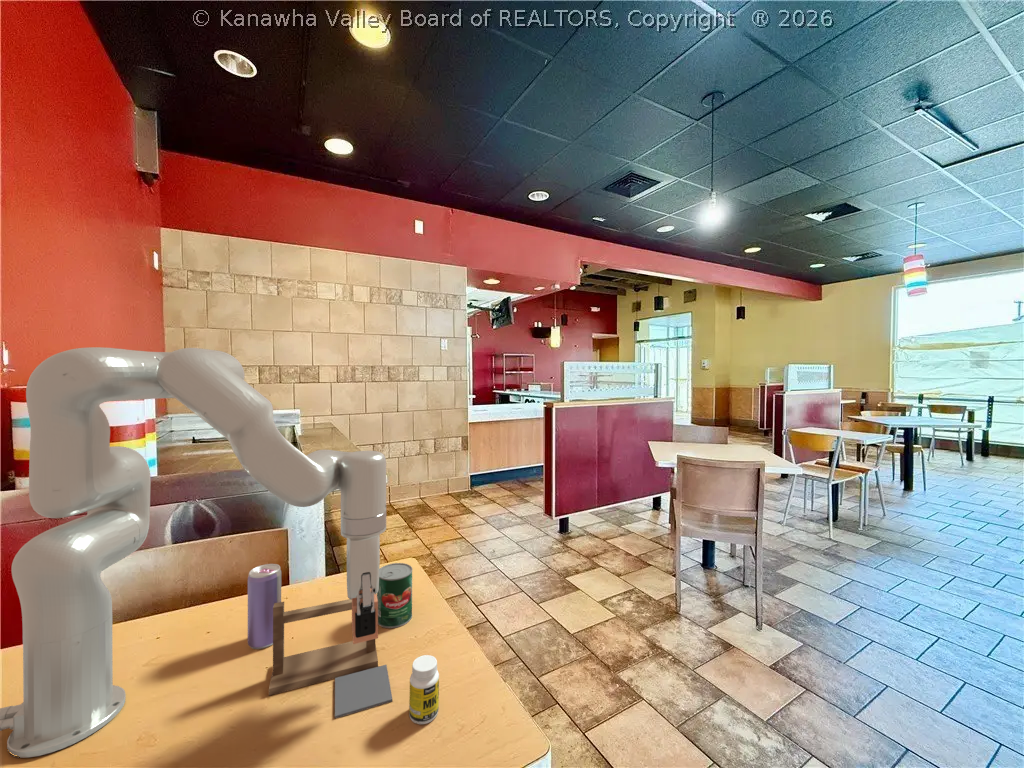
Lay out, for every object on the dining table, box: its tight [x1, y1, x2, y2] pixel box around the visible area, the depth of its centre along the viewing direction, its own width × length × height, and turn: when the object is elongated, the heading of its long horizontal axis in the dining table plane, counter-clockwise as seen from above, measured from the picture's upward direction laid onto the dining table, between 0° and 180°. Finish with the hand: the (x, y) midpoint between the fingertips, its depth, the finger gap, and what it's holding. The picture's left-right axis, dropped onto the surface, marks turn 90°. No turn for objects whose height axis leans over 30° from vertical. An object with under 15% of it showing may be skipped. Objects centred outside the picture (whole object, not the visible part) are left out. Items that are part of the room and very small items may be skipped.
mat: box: [334, 664, 393, 719], centre depth 71 cm, size 9×9×1 cm
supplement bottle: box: [408, 654, 440, 725], centre depth 66 cm, size 5×5×8 cm
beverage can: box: [247, 563, 282, 650], centre depth 84 cm, size 6×6×15 cm
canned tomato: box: [377, 562, 413, 629], centre depth 93 cm, size 8×8×11 cm
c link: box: [351, 589, 379, 644], centre depth 71 cm, size 4×5×6 cm
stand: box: [268, 598, 379, 696], centre depth 77 cm, size 18×8×14 cm, turn 114°
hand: (364, 623), depth 71 cm, fingers closed on c link, 5 cm apart
